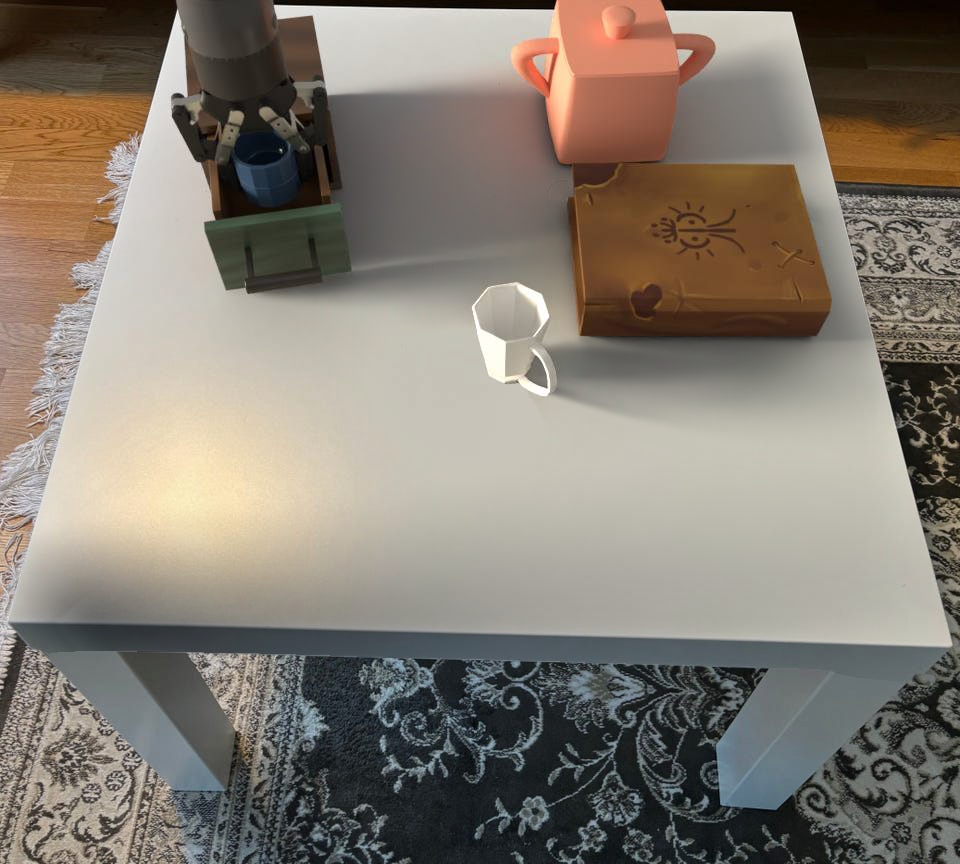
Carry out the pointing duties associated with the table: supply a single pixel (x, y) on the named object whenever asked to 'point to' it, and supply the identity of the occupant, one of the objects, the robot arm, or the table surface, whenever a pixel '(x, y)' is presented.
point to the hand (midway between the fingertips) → (270, 181)
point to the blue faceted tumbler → (266, 169)
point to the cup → (514, 334)
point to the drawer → (277, 234)
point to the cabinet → (300, 66)
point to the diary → (694, 251)
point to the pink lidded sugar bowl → (611, 78)
